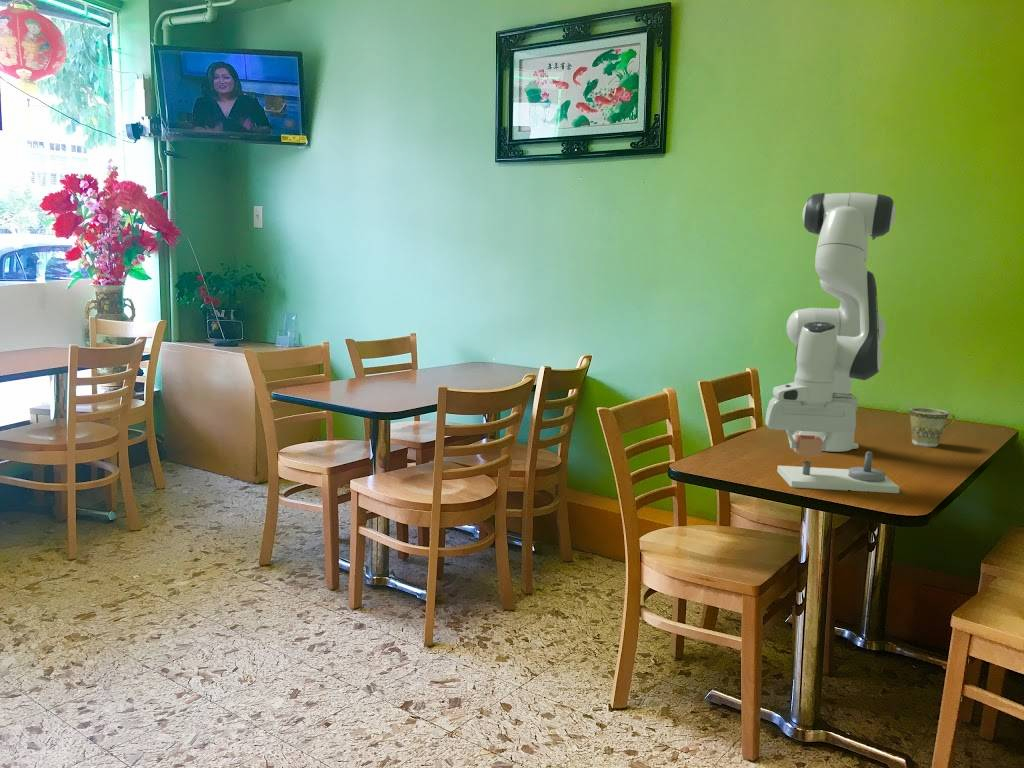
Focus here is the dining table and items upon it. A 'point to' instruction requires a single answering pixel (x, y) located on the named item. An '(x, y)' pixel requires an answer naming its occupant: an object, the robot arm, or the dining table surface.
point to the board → (839, 477)
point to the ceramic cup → (928, 425)
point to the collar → (808, 445)
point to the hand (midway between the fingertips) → (807, 449)
